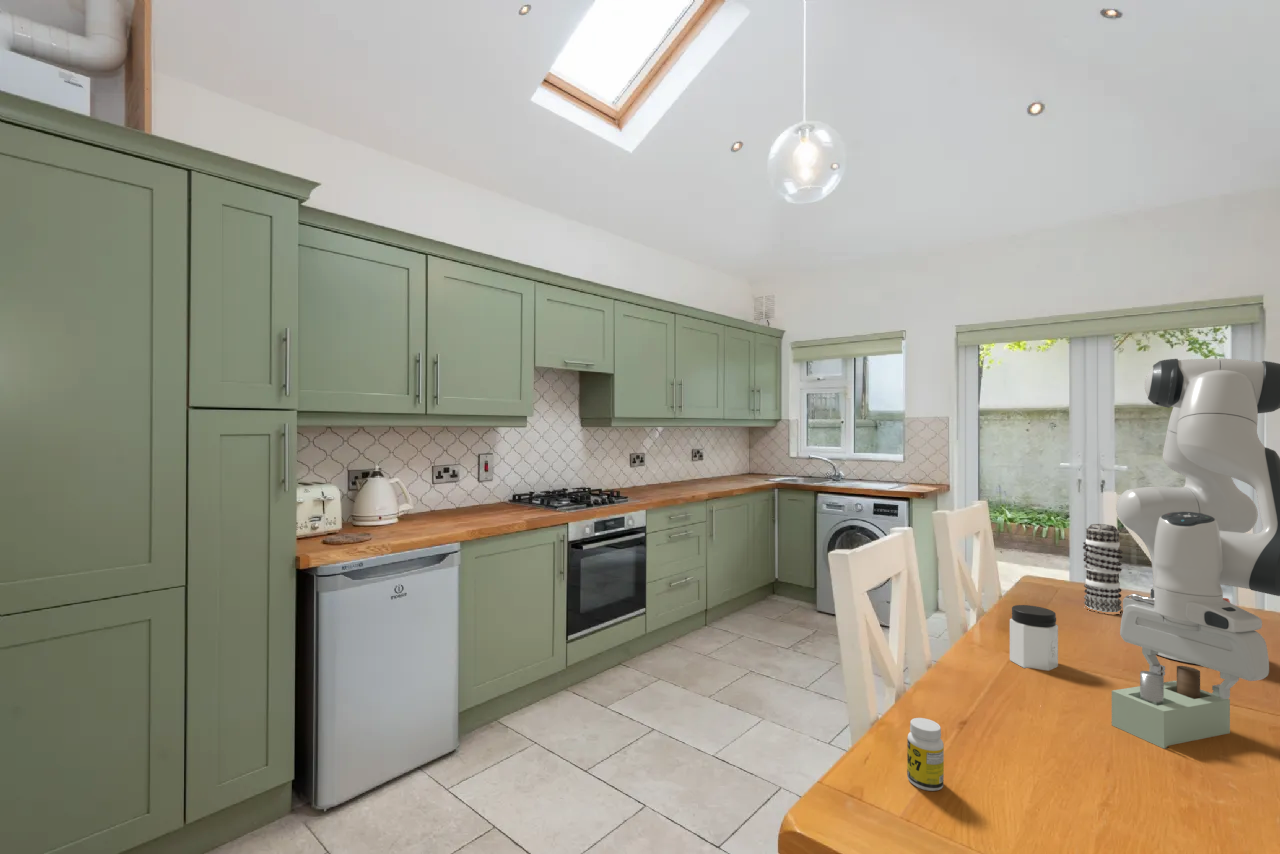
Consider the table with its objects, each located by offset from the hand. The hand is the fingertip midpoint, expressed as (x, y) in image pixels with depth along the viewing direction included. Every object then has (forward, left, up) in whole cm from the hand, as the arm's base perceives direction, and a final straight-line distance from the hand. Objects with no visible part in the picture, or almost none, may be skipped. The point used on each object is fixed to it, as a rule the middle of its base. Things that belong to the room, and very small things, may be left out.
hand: (1187, 685), depth 103 cm
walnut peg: (0, 0, -7) cm, 7 cm away
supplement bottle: (+57, +1, -7) cm, 57 cm away
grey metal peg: (+9, 0, -7) cm, 11 cm away
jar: (0, -29, -7) cm, 30 cm away
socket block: (+5, 0, -7) cm, 8 cm away
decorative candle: (-58, -55, -7) cm, 80 cm away
